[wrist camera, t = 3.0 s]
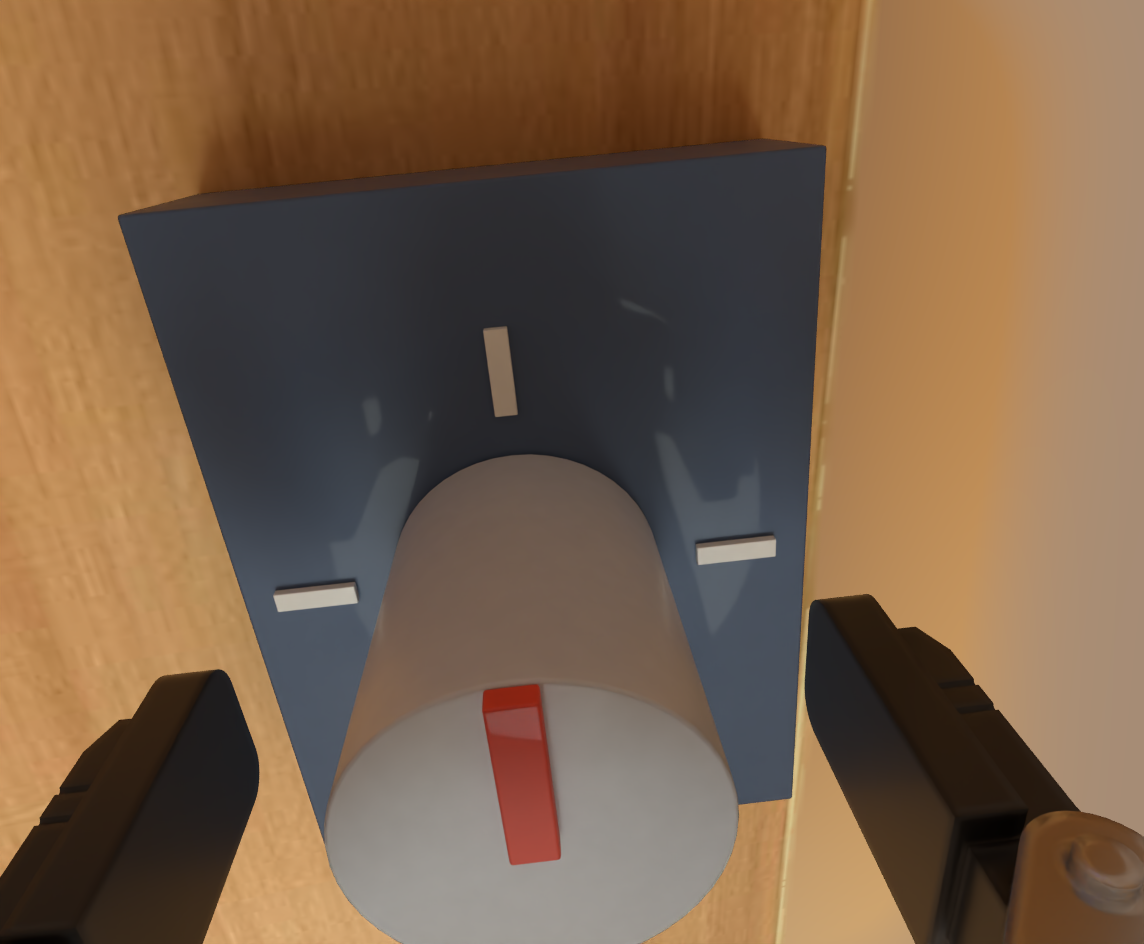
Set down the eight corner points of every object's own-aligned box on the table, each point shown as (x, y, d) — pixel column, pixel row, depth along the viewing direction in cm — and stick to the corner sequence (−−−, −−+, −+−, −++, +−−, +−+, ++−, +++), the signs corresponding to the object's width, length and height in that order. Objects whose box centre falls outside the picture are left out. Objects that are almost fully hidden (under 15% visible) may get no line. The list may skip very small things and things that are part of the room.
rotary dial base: (753, 701, 19) (795, 805, 16) (353, 748, 19) (325, 861, 16) (764, 138, 13) (831, 145, 11) (196, 194, 13) (109, 216, 10)
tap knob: (661, 661, 14) (745, 972, 9) (419, 688, 14) (365, 1019, 9) (651, 439, 12) (751, 675, 7) (371, 468, 12) (265, 731, 7)
